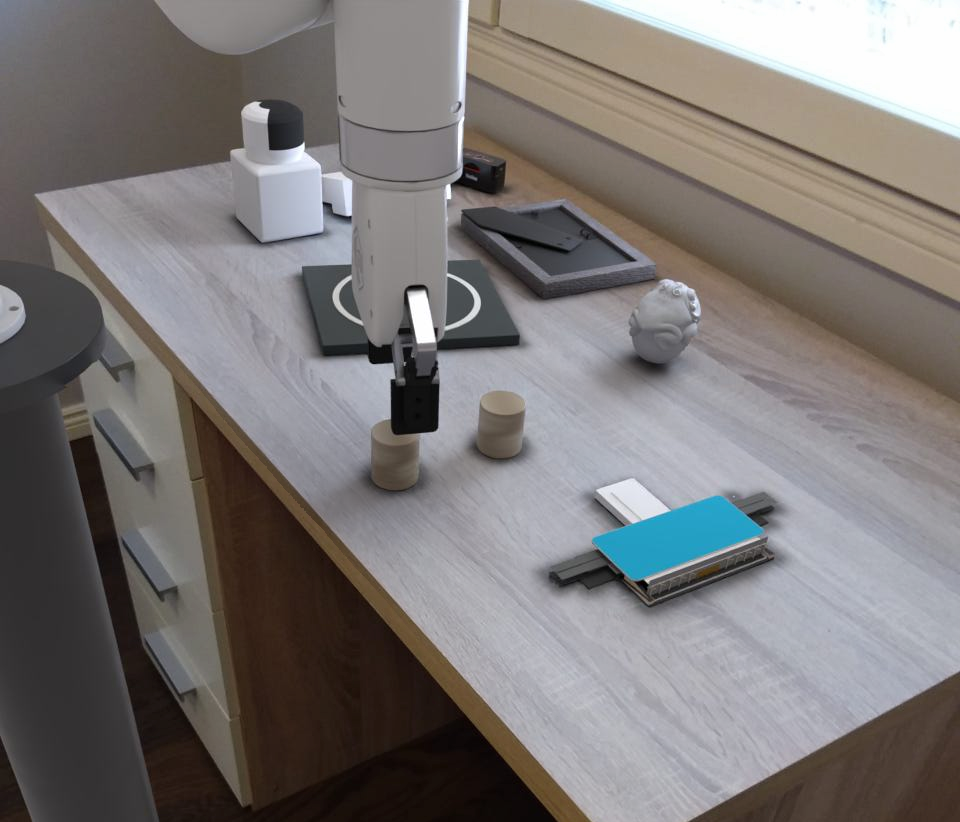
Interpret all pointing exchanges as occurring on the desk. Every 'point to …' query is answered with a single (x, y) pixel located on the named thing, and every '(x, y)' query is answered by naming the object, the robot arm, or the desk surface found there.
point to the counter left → (394, 457)
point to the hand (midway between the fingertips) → (401, 394)
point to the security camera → (276, 174)
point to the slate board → (468, 314)
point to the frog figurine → (664, 321)
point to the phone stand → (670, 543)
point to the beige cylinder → (501, 424)
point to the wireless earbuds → (482, 171)
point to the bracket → (343, 192)
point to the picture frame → (556, 247)
